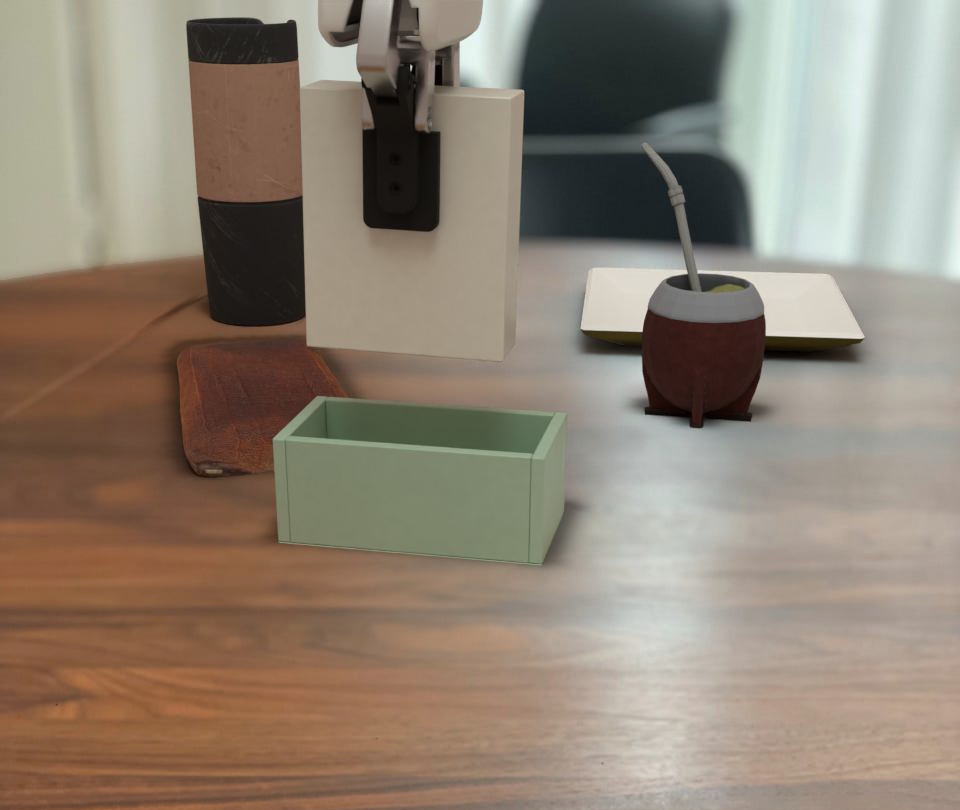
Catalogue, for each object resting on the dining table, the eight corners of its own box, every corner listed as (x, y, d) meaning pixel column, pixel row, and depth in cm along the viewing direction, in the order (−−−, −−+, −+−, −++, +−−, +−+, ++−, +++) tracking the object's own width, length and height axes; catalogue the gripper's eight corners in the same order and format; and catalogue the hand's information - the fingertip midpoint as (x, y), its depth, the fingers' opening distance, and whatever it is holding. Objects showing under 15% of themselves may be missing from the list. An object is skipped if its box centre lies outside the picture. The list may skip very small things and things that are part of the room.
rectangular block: (305, 346, 67) (299, 86, 62) (325, 330, 70) (320, 79, 65) (503, 362, 66) (512, 97, 61) (515, 345, 68) (524, 89, 63)
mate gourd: (757, 441, 85) (783, 166, 78) (618, 432, 86) (632, 160, 79) (757, 402, 91) (781, 146, 85) (628, 395, 92) (642, 141, 86)
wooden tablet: (380, 478, 79) (379, 447, 78) (187, 490, 77) (184, 459, 76) (322, 345, 102) (321, 321, 102) (173, 352, 100) (171, 327, 100)
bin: (278, 551, 70) (272, 438, 67) (321, 501, 76) (316, 395, 73) (541, 574, 67) (544, 458, 65) (563, 520, 73) (567, 412, 71)
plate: (587, 293, 117) (588, 266, 116) (830, 300, 116) (833, 273, 115) (579, 356, 100) (580, 326, 99) (862, 365, 99) (866, 335, 98)
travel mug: (211, 329, 106) (188, 25, 97) (201, 304, 113) (180, 17, 104) (318, 323, 108) (305, 24, 99) (303, 299, 114) (290, 16, 106)
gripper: (375, -252, 65) (377, 185, 73) (248, -299, 50) (268, 252, 59) (546, -250, 64) (529, 194, 72) (466, -298, 49) (456, 266, 57)
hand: (412, 216), depth 65 cm, fingers closed on rectangular block, 3 cm apart
